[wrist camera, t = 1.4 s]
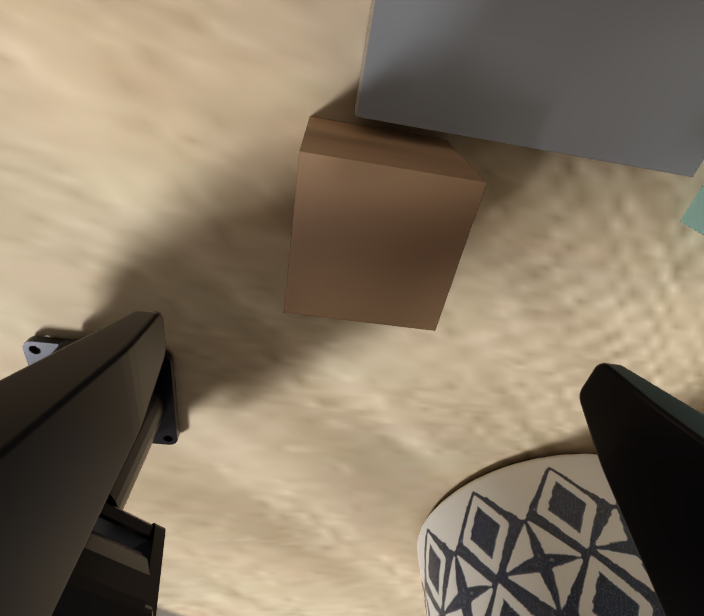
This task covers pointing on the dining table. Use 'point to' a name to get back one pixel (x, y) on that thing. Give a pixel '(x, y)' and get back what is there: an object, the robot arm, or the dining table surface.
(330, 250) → the walnut block
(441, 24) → the slate board
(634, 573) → the planter
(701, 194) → the teal block
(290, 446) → the dining table surface
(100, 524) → the robot arm
